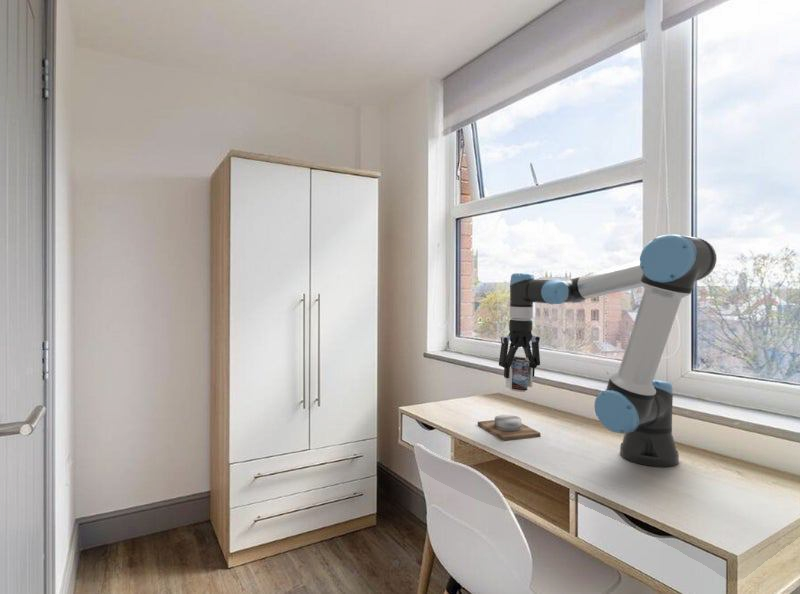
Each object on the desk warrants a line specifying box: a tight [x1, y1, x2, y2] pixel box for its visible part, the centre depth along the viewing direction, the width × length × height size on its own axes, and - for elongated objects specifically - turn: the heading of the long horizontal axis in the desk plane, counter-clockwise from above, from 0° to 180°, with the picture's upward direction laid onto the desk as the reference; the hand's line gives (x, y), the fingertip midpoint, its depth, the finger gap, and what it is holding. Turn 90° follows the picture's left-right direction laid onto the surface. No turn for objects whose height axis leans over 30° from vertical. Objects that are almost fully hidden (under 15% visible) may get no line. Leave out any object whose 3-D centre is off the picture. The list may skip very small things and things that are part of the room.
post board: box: [477, 414, 542, 442], centre depth 163 cm, size 18×14×4 cm
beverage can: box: [510, 355, 530, 393], centre depth 159 cm, size 6×7×12 cm
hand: (518, 386), depth 159 cm, fingers closed on beverage can, 7 cm apart
